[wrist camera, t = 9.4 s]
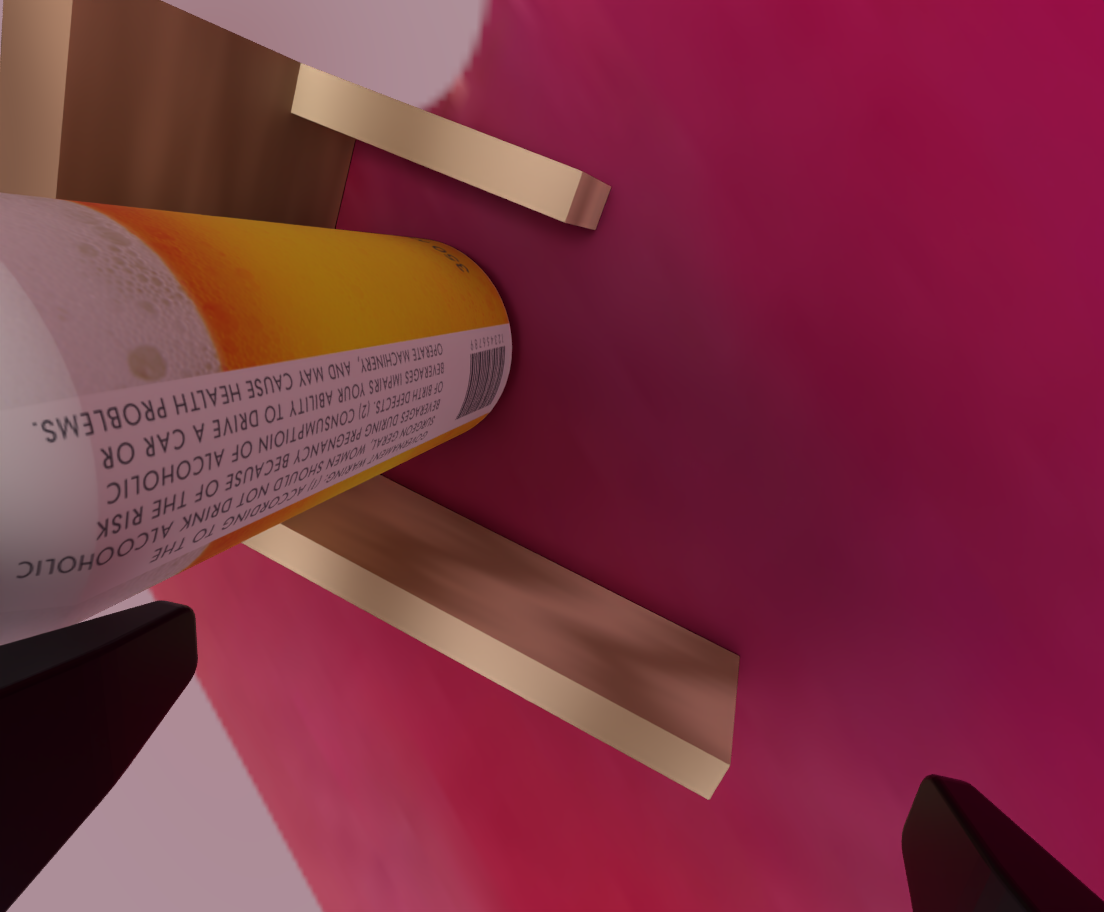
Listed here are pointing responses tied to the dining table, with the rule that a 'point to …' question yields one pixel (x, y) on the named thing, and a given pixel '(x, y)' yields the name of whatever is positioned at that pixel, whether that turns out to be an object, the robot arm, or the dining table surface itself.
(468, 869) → the dining table surface
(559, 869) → the dining table surface
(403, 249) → the beer can
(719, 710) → the shelf
